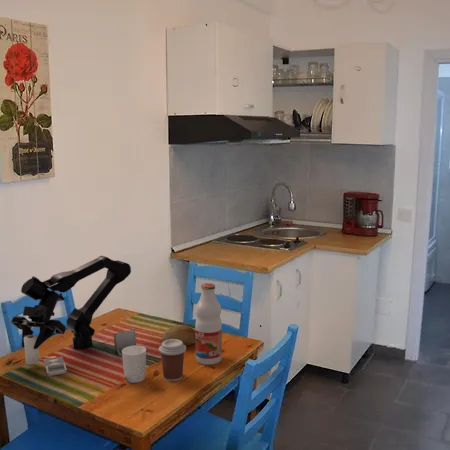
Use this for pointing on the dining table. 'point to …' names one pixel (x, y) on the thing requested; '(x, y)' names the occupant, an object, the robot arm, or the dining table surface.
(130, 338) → the ceramic mug
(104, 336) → the dining table surface
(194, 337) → the bread roll
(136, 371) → the white cup
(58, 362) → the power strip
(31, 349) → the cream cylinder
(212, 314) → the fruit juice
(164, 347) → the coffee cup
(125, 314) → the dining table surface
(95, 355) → the dining table surface
